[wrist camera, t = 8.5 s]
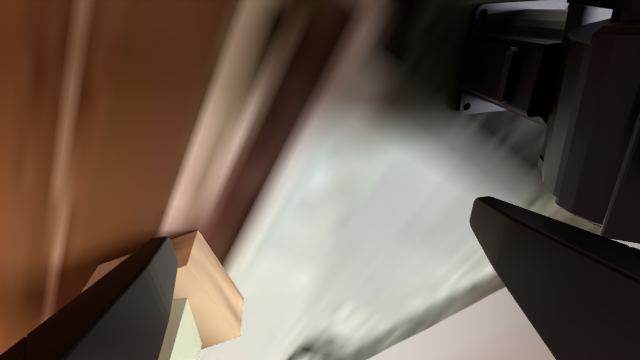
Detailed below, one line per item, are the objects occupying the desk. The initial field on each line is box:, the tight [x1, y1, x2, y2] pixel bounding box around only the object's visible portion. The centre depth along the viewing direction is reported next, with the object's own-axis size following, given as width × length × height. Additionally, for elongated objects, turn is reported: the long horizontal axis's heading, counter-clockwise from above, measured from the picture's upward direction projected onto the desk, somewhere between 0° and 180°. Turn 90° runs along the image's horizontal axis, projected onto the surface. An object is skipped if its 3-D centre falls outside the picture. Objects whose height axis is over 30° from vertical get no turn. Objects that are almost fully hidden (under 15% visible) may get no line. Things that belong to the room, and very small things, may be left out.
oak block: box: [81, 230, 244, 349], centre depth 24 cm, size 8×8×4 cm
